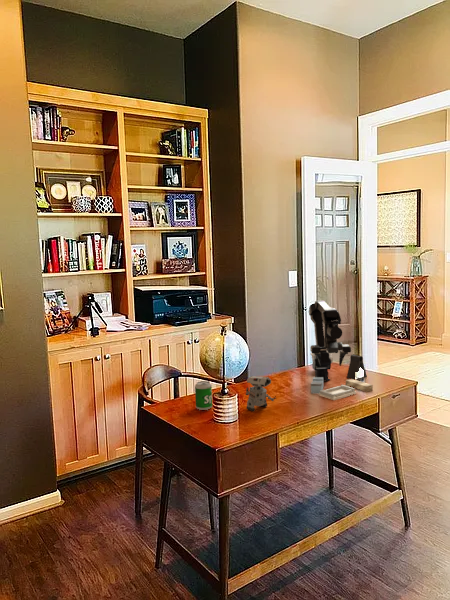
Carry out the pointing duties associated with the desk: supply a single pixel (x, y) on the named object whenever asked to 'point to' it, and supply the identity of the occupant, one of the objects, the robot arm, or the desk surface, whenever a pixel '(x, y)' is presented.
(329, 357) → the teacup
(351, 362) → the phone stand
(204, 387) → the soda can
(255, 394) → the figurine
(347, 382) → the tan rectangular bar
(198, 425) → the desk surface
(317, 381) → the light blue block
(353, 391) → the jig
